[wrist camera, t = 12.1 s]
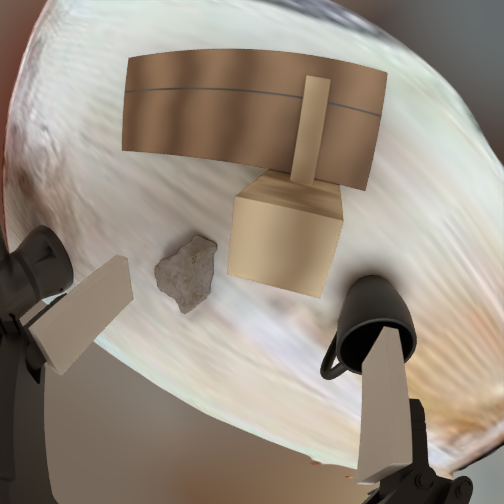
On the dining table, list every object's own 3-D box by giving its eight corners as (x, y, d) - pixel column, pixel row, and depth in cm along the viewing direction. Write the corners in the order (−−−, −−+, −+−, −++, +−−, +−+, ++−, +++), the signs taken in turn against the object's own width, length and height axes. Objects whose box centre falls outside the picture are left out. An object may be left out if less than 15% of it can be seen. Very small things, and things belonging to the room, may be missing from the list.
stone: (176, 217, 34) (150, 236, 29) (231, 247, 34) (212, 272, 29) (160, 272, 39) (138, 294, 34) (207, 300, 39) (189, 326, 34)
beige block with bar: (264, 218, 30) (227, 274, 20) (285, 79, 23) (253, 50, 13) (326, 233, 29) (320, 298, 19) (355, 92, 22) (373, 69, 11)
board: (131, 148, 31) (121, 150, 29) (138, 59, 25) (128, 57, 23) (362, 186, 26) (365, 191, 24) (383, 76, 20) (387, 72, 18)
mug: (304, 311, 35) (293, 367, 27) (373, 251, 28) (384, 302, 20) (346, 343, 35) (344, 398, 27) (414, 292, 29) (431, 346, 21)
